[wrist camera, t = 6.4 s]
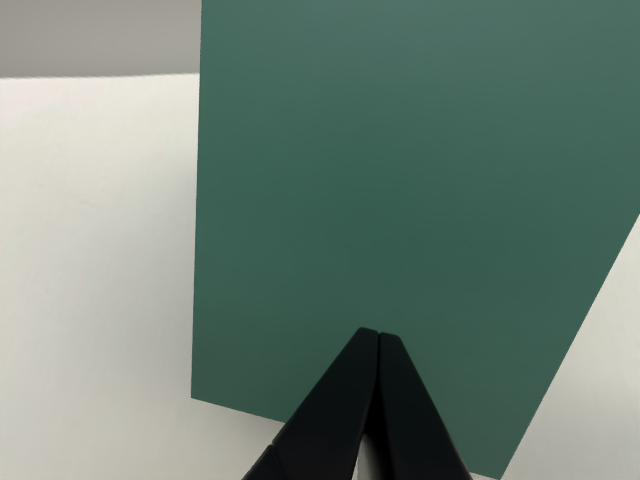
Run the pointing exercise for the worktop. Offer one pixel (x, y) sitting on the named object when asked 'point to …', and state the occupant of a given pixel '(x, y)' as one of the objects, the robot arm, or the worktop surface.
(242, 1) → the lid
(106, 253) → the worktop surface
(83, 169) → the worktop surface
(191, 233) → the worktop surface
